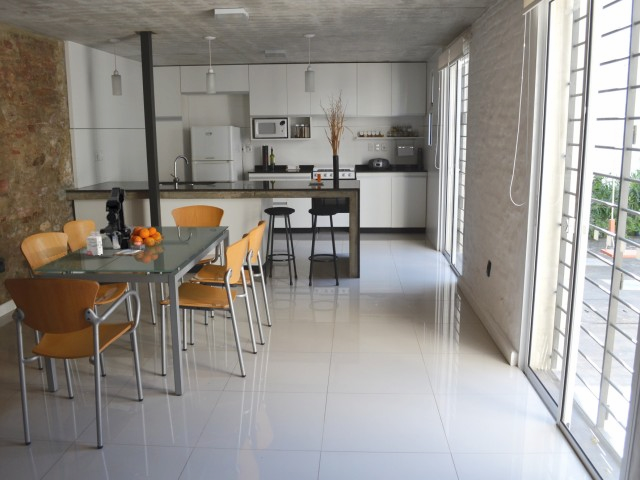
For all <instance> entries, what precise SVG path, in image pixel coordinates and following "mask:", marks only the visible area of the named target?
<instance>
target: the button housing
mask: <svg viewBox="0 0 640 480" xmlns="http://www.w3.org/2000/svg"><path fill="white" fill-rule="evenodd" d="M145 246H146V244H141V246H134V245H130V247H131V248H130V250H144V251H145V249H146V247H145Z"/></svg>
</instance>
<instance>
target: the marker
mask: <svg viewBox="0 0 640 480" xmlns="http://www.w3.org/2000/svg"><path fill="white" fill-rule="evenodd" d="M112 238H113V244H112V246H113V250H117V249H118V250H120V249H119V248H120V245H119V243H118V236H117V235H116V234H114V235H113V236H112Z"/></svg>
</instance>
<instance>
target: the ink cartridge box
mask: <svg viewBox="0 0 640 480" xmlns="http://www.w3.org/2000/svg"><path fill="white" fill-rule="evenodd" d="M85 240H86V250H87V251H86V252H87V256H95V255H99V256H101V254H102V255H103V254H104V253H103V252H104V250H103V242H102V240H103V239H102V234H100V231H92V230H91V231H90V236H86V237H85Z"/></svg>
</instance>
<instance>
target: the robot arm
mask: <svg viewBox="0 0 640 480" xmlns="http://www.w3.org/2000/svg"><path fill="white" fill-rule="evenodd" d="M126 194H127V193H126V190H125V189H123V188H121V187H120V186H117V187H115V186H114V187H111V190H110V197H109V198H107V200H106V202H105V212H108V213H107V214H106V217H105V219H106V221H108V223H107V225H106V226H105V227H103V228H100V229H99V232H100V234H101V235H104V234H105V236H107V237H108V238H109V240H110V242H111V244H112V245H113V238H112V236H113V235H117V236H118V243H119V245H120V248H119V249H118V250H125V249H126V250H129V249H131V241H130V240H132V229H131V228H129V227H128V226H127V224H126V220H125V219H126V217H125V209H124V202H125V199H126V197H127V195H126Z"/></svg>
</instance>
